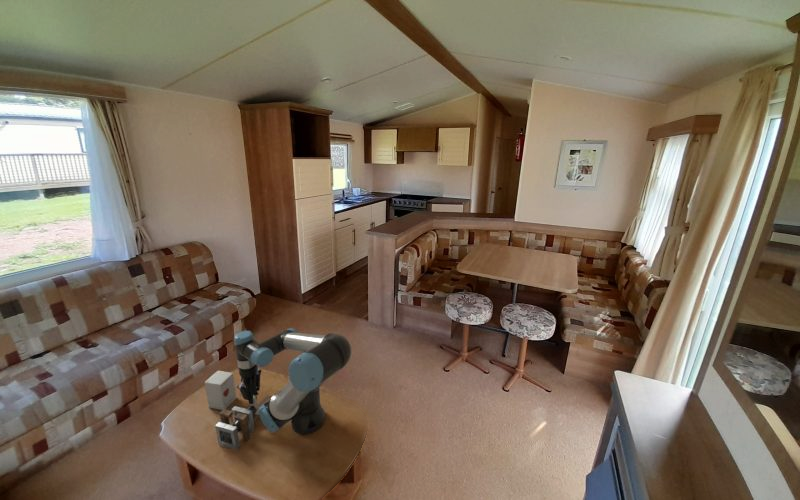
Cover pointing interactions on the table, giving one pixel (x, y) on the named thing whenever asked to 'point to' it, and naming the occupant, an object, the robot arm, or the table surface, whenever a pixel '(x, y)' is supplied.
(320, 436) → the table surface
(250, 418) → the collar
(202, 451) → the table surface
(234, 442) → the collar
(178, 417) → the table surface
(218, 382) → the supplement box
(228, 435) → the tube
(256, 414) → the rail
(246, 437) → the aperture bridge
